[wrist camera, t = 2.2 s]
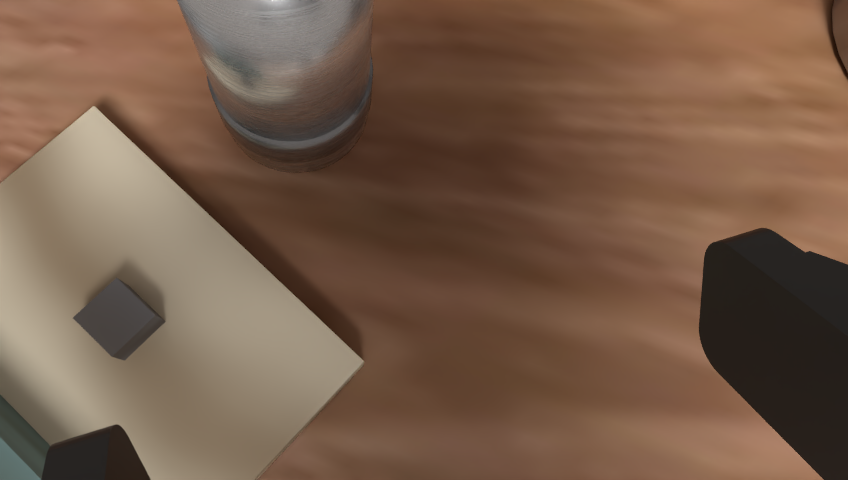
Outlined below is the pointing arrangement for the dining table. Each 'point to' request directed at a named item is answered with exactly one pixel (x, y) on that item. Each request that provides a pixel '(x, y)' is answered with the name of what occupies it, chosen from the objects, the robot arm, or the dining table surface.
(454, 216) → the dining table surface
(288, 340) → the beige board with frame
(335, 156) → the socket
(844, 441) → the robot arm
